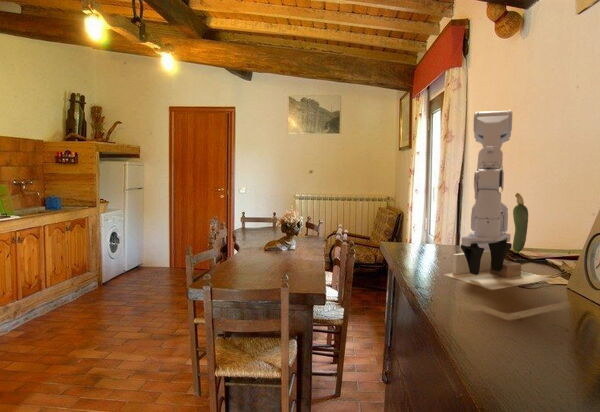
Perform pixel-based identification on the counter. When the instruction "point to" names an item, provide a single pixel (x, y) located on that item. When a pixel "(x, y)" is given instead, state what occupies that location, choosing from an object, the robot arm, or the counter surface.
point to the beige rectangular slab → (462, 265)
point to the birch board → (497, 279)
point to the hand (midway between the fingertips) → (485, 272)
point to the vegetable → (520, 224)
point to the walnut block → (508, 269)
